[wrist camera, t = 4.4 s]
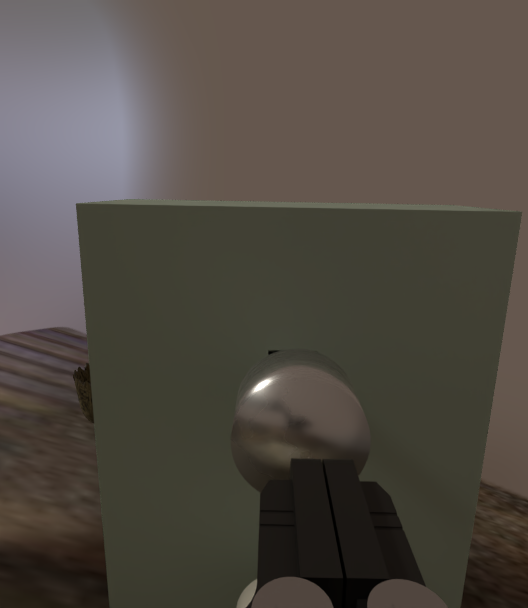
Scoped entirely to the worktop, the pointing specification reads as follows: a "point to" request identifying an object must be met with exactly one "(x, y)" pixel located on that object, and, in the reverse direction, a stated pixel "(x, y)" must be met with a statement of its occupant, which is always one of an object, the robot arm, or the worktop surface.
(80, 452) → the worktop surface
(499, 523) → the worktop surface
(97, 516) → the worktop surface
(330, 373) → the upper knob
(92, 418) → the cup
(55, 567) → the worktop surface
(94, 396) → the block
